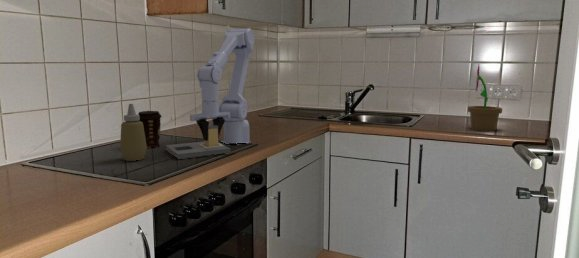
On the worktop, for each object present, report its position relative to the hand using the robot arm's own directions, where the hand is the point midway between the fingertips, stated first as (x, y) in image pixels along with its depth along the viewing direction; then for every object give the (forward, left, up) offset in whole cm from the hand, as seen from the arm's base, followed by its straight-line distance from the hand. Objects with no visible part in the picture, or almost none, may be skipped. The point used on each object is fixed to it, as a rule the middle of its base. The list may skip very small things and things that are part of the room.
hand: (211, 139), depth 147 cm
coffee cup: (+17, -18, -4) cm, 25 cm away
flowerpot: (-125, +18, -4) cm, 126 cm away
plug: (0, 0, -3) cm, 3 cm away
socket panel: (+5, 0, -4) cm, 6 cm away
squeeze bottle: (+26, 0, -4) cm, 26 cm away
